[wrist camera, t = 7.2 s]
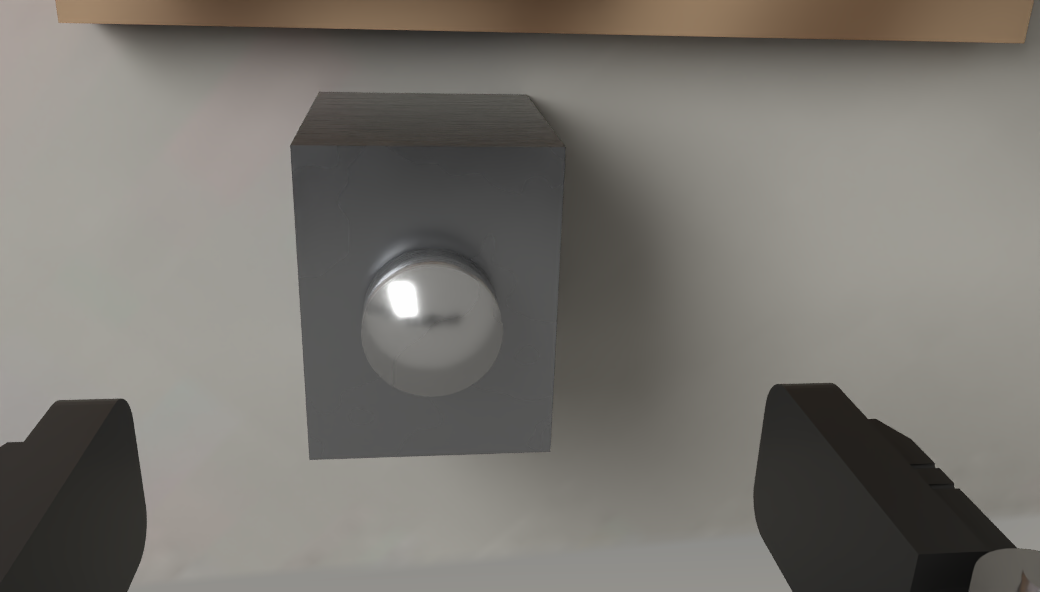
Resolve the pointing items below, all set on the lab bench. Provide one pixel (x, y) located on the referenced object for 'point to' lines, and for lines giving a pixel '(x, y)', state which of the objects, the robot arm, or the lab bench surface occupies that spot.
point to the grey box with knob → (427, 273)
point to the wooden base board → (593, 17)
